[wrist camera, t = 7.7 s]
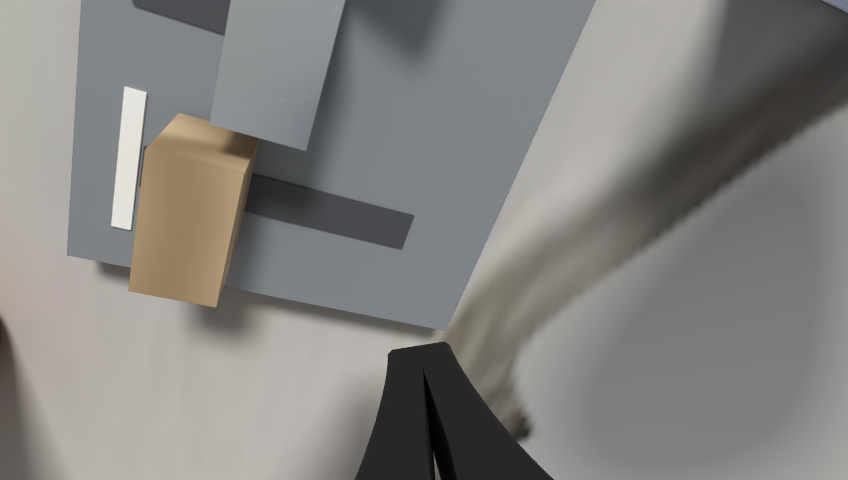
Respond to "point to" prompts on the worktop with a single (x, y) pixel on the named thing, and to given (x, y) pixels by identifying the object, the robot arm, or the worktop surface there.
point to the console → (333, 142)
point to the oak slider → (190, 210)
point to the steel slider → (274, 67)
